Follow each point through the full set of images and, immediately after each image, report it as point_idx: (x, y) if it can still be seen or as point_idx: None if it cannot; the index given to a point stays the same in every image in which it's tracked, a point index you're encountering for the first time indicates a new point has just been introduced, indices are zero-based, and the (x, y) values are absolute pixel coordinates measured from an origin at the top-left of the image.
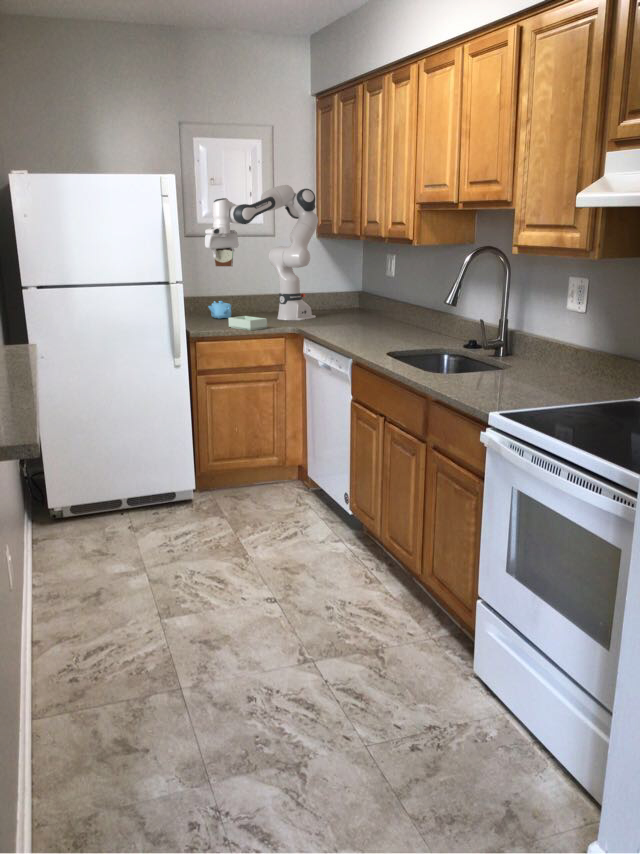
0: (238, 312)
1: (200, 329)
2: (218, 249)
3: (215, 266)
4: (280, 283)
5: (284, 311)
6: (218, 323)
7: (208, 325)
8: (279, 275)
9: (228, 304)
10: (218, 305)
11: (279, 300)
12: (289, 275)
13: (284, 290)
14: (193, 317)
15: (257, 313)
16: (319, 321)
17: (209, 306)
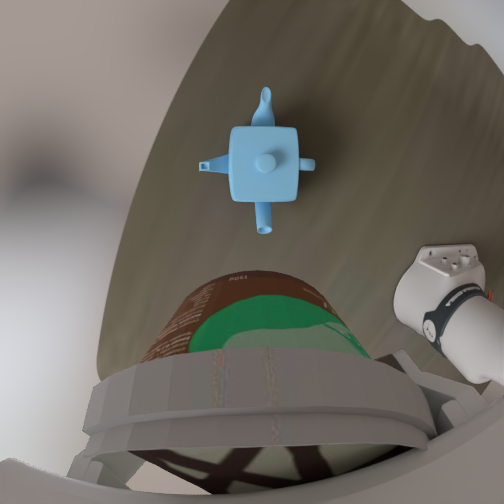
0: (391, 43)
1: (117, 348)
2: (198, 483)
3: (186, 299)
4: (464, 349)
5: (410, 321)
6: (199, 269)
7: (155, 295)
8: (480, 365)
9: (286, 200)
10: (235, 199)
11: (431, 314)
12: (488, 379)
13: (447, 353)
14: (196, 62)
15: (429, 107)
16: (428, 360)
17: (203, 170)
